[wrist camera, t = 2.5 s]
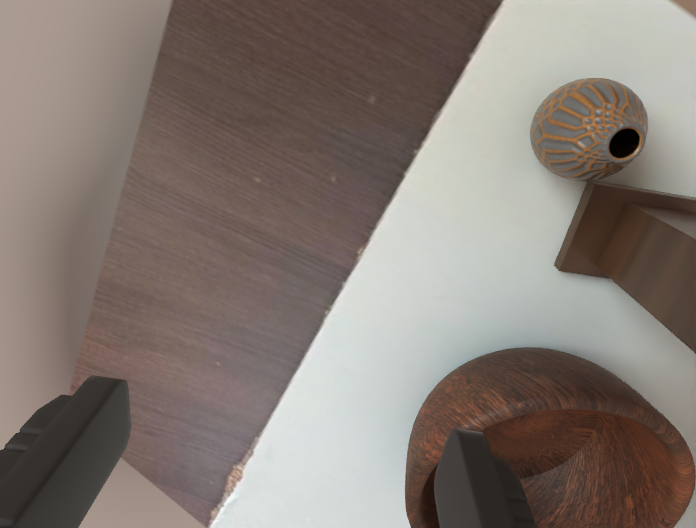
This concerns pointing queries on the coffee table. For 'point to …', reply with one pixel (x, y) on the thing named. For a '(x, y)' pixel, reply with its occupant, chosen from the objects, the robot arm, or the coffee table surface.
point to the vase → (589, 129)
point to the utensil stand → (639, 249)
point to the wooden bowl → (557, 441)
